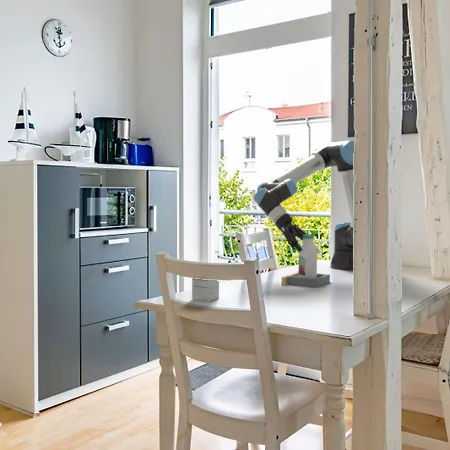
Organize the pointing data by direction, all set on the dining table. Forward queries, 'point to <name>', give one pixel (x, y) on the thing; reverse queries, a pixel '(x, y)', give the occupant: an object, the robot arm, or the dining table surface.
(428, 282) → the dining table surface
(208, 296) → the supplement box
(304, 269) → the milk bottle
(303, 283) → the tray
